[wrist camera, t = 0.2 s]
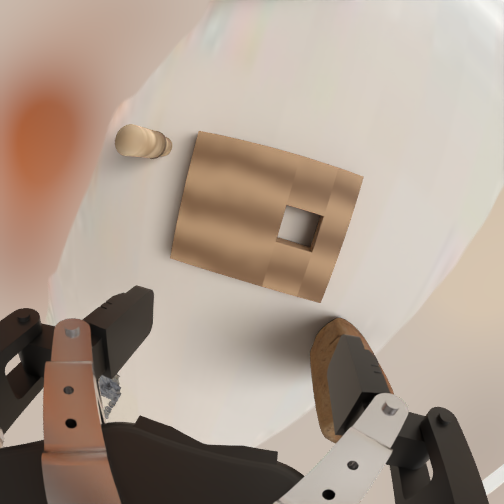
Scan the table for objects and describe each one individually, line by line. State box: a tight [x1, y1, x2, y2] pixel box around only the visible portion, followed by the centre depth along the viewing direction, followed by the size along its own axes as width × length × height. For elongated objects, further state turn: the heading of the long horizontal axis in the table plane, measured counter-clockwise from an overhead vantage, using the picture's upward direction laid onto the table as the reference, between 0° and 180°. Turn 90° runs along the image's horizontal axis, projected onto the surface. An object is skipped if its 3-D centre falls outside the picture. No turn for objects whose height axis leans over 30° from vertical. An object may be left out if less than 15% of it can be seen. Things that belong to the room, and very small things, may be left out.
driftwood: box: [99, 375, 121, 419], centre depth 53 cm, size 21×7×2 cm, turn 144°
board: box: [170, 131, 363, 303], centre depth 37 cm, size 18×22×3 cm
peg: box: [115, 124, 172, 159], centre depth 33 cm, size 4×4×10 cm
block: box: [310, 318, 394, 443], centre depth 33 cm, size 11×8×20 cm
